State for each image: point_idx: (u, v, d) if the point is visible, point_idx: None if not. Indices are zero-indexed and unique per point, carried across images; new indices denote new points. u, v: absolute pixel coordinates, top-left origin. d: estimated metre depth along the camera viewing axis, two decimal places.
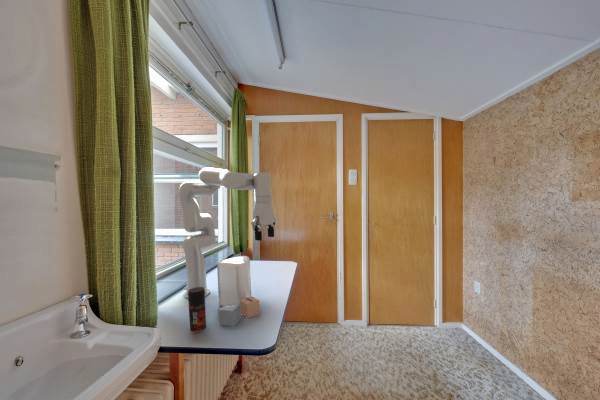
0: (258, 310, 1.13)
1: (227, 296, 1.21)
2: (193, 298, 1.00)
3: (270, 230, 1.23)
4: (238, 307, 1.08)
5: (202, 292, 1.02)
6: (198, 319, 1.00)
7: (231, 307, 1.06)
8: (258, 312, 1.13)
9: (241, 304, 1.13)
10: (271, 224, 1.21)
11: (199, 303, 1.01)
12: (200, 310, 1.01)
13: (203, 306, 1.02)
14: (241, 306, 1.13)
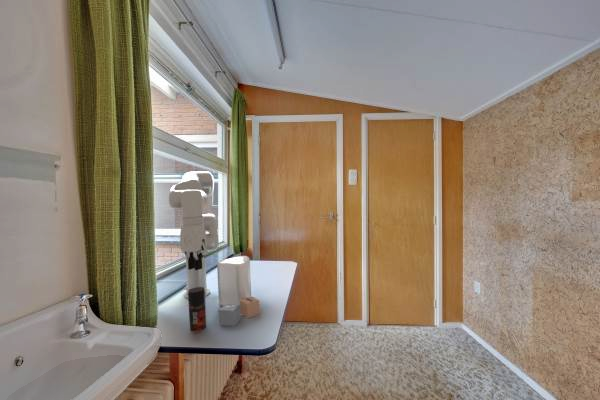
0: (258, 310, 1.13)
1: (227, 296, 1.21)
2: (193, 298, 1.00)
3: (192, 260, 1.03)
4: (238, 307, 1.08)
5: (202, 292, 1.02)
6: (198, 319, 1.00)
7: (231, 307, 1.06)
8: (258, 312, 1.13)
9: (241, 304, 1.13)
10: None
11: (199, 303, 1.01)
12: (200, 310, 1.01)
13: (203, 306, 1.02)
14: (241, 306, 1.13)
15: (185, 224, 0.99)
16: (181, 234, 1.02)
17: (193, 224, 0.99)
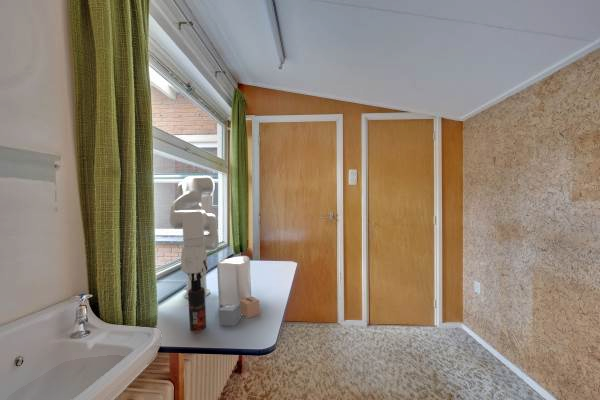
0: (258, 310, 1.13)
1: (227, 296, 1.21)
2: (193, 298, 1.00)
3: None
4: (238, 307, 1.08)
5: (202, 292, 1.02)
6: (199, 319, 1.00)
7: (231, 307, 1.06)
8: (258, 312, 1.13)
9: (241, 304, 1.13)
10: None
11: (199, 303, 1.00)
12: (200, 310, 1.01)
13: (203, 306, 1.02)
14: (241, 306, 1.13)
15: (186, 245, 0.99)
16: (182, 255, 1.02)
17: (194, 245, 0.99)
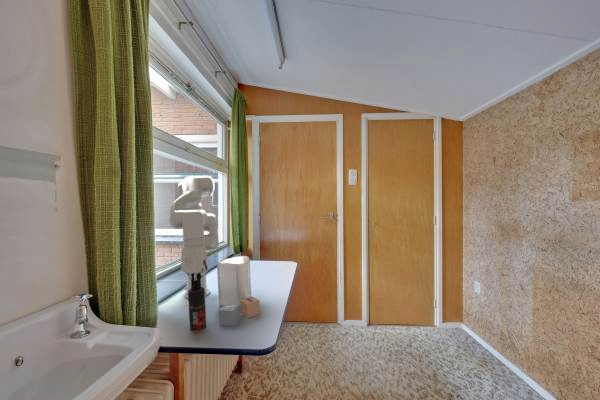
0: (258, 310, 1.13)
1: (227, 296, 1.21)
2: (193, 298, 1.00)
3: None
4: (238, 307, 1.08)
5: (202, 292, 1.02)
6: (198, 319, 1.00)
7: (231, 307, 1.06)
8: (258, 312, 1.13)
9: (241, 304, 1.13)
10: None
11: (199, 303, 1.01)
12: (200, 310, 1.01)
13: (203, 306, 1.02)
14: (241, 306, 1.13)
15: (186, 245, 0.99)
16: (182, 255, 1.02)
17: (194, 245, 0.99)
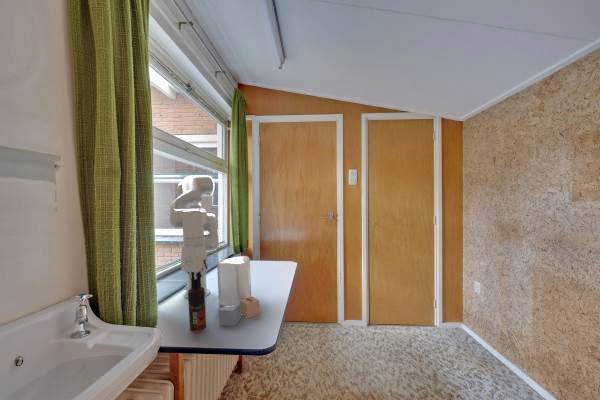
0: (258, 310, 1.13)
1: (227, 296, 1.21)
2: (193, 298, 1.00)
3: None
4: (238, 307, 1.08)
5: (202, 292, 1.02)
6: (199, 319, 1.00)
7: (231, 307, 1.06)
8: (258, 312, 1.13)
9: (241, 304, 1.13)
10: None
11: (199, 303, 1.01)
12: (200, 310, 1.01)
13: (203, 306, 1.02)
14: (241, 306, 1.13)
15: (186, 245, 0.99)
16: (182, 254, 1.02)
17: (194, 245, 0.99)
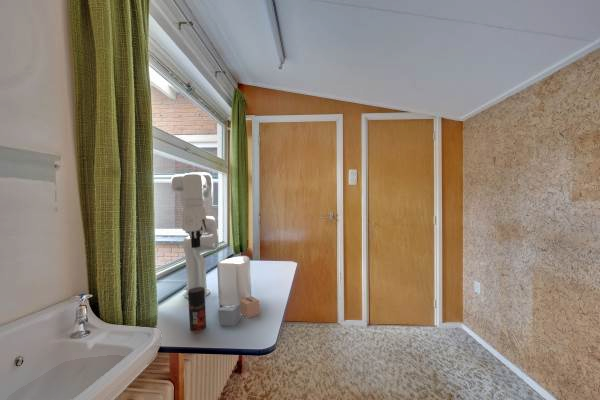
0: (258, 310, 1.13)
1: (227, 296, 1.21)
2: (193, 298, 1.00)
3: None
4: (238, 307, 1.08)
5: (202, 292, 1.02)
6: (199, 319, 1.00)
7: (231, 307, 1.06)
8: (258, 312, 1.13)
9: (241, 304, 1.13)
10: None
11: (199, 303, 1.01)
12: (200, 310, 1.01)
13: (203, 306, 1.02)
14: (241, 306, 1.13)
15: (186, 205, 1.07)
16: (183, 215, 1.10)
17: (194, 205, 1.07)
